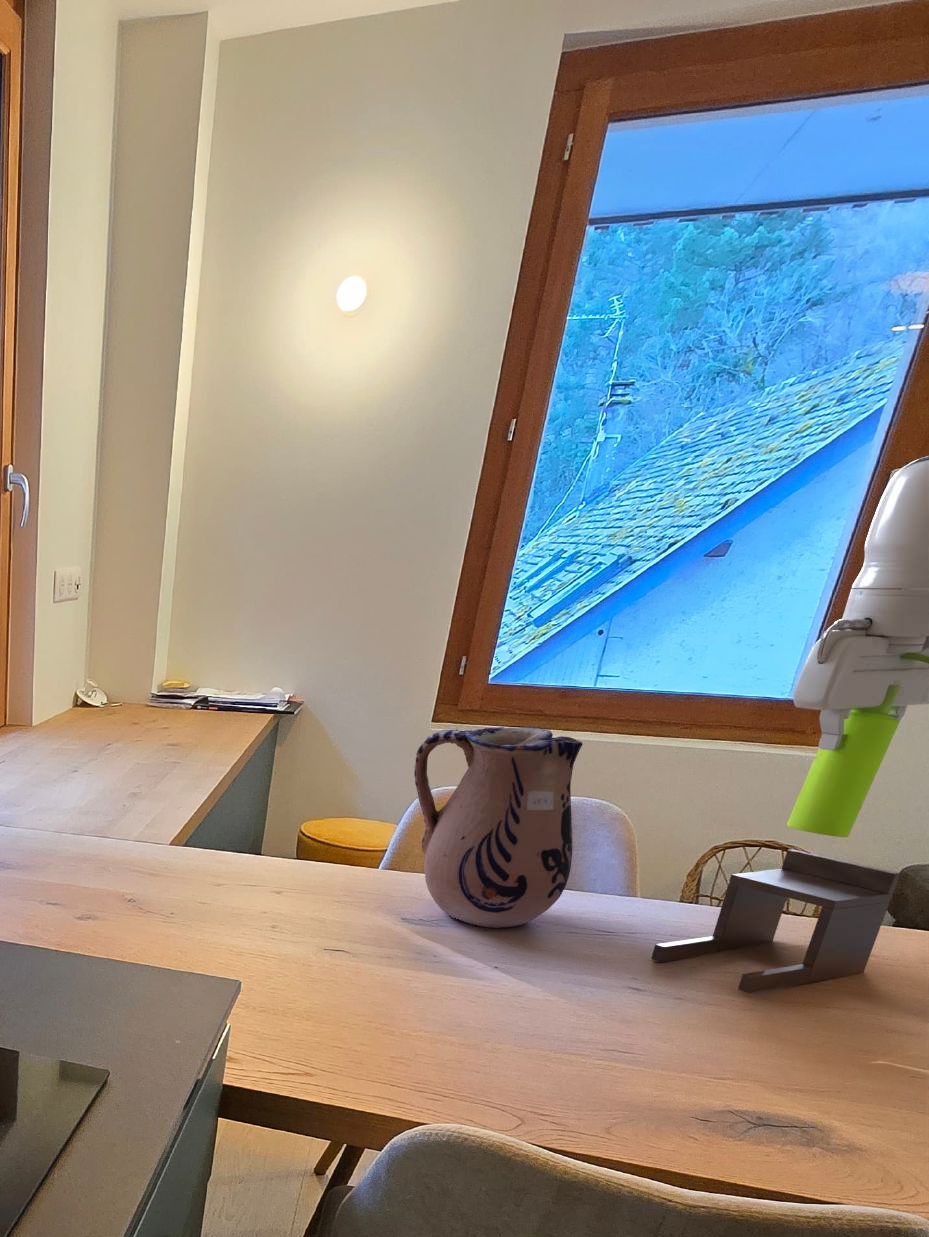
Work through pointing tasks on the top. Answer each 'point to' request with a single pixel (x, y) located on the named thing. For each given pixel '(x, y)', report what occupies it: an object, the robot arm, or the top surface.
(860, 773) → the soap dispenser
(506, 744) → the ceramic pitcher
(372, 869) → the top surface
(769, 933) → the stand
